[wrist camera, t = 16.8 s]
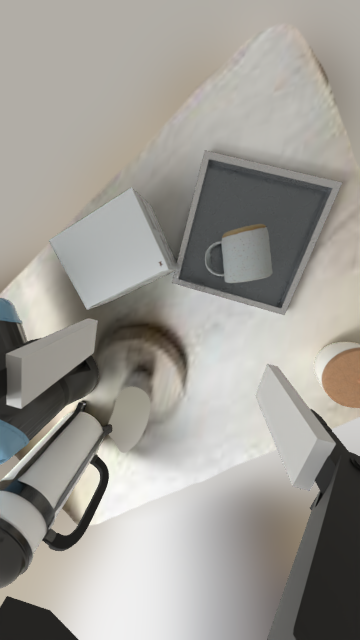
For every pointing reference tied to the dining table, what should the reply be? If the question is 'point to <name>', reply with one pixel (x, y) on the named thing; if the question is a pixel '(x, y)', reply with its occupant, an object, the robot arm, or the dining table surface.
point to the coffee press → (48, 491)
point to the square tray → (249, 209)
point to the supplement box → (114, 250)
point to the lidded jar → (340, 372)
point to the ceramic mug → (243, 254)
